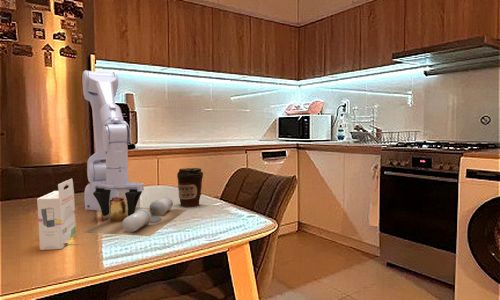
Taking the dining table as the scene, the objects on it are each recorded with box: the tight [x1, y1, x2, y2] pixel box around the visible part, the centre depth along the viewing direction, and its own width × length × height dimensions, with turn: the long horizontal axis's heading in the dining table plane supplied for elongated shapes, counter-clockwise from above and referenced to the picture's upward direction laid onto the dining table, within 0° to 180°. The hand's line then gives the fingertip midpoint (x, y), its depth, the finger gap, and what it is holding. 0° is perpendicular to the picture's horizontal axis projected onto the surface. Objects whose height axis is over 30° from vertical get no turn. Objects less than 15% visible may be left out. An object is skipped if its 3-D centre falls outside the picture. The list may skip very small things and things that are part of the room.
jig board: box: [82, 206, 187, 237], centre depth 102 cm, size 18×26×1 cm
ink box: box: [36, 178, 77, 251], centre depth 84 cm, size 9×5×15 cm, turn 5°
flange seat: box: [150, 217, 162, 223], centre depth 101 cm, size 6×6×1 cm
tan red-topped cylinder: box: [109, 196, 128, 222], centre depth 101 cm, size 4×4×6 cm
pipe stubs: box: [122, 196, 174, 233], centre depth 101 cm, size 5×23×5 cm, turn 170°
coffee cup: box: [176, 167, 204, 208], centre depth 118 cm, size 9×8×13 cm
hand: (118, 215), depth 101 cm, fingers open, 7 cm apart
